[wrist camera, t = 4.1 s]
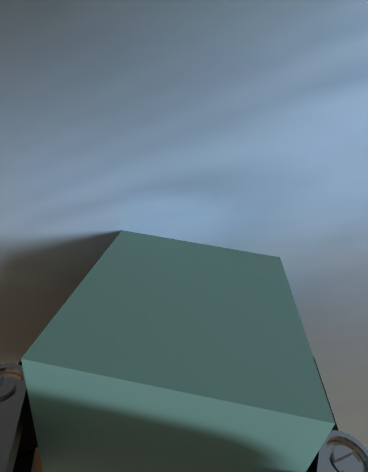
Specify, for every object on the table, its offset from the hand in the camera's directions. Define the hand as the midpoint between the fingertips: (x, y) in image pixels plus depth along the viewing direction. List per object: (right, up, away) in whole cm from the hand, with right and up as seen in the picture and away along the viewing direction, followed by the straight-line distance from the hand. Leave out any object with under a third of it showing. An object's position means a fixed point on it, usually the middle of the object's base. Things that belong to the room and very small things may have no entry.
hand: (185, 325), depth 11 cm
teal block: (0, +1, +1) cm, 1 cm away
